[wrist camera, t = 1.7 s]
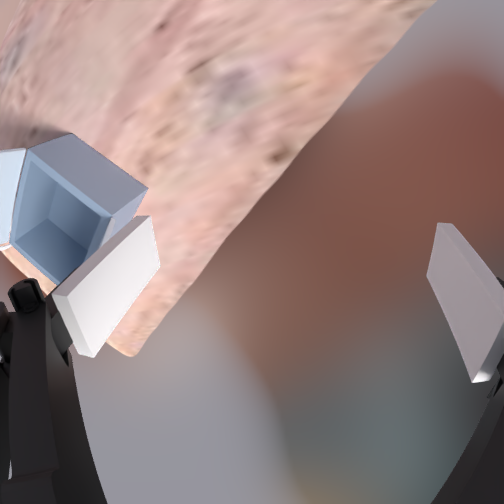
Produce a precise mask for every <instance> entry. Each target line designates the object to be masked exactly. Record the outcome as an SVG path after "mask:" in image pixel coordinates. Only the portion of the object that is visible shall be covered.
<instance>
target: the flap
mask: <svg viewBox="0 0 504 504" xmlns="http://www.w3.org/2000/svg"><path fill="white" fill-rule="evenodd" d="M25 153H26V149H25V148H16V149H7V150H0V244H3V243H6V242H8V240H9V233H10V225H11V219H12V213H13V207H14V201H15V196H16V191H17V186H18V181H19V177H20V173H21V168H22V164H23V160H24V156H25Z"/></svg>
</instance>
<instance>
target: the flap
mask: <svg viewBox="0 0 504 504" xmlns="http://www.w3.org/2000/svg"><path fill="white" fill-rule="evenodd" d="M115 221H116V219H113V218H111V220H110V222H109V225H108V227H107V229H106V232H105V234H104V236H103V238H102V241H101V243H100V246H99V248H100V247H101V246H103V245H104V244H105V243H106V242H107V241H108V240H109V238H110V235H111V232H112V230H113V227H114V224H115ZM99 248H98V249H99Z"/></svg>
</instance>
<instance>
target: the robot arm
mask: <svg viewBox="0 0 504 504" xmlns="http://www.w3.org/2000/svg"><path fill="white" fill-rule="evenodd" d="M159 268H160V261H159V256H158V251H157V247H156V242H155V236H154V231H153V226H152V221H151V216H136V217H135V218H134V219H132V220H131V221H130V222H129V223H128V224H127V225H125V226H124V227H123V228H122V229H121V230H120V231H118V232H117V233H116V234H115V235H114V236H113V237H112V238H110V239H109V240H108V241H107V242H106V243H105V244H104V245H103V246H101V247H100V248H99V249H98V250H97V251H96V252H95V253H94V254H93V255H91V256H90V257H89V258H88V259H87V260H86V261H85V262H84V263H83V264H82V265H81V266H79V267H77V268H75V269H74V270H73V271H72V272H71V273H70V274H69V275H68V277H66V278H65V279H64V280H63V281H62V282H61V283H60V284H59V285H58V286H57V287H56V288H55V289H54V290H53V291H51V292H50V293H49V294H48V295H47V296H46V298H44V296H43V294H42V291H41V288H40V286H39V283H38V281H37V280H36V279H34V278H28V279H24V280H22V281H20V282H18V283H16V284H15V285H13V287H11V288H10V289H9V291H8V296H9V298H10V300H11V302H12V305H13V307H14V309H15V311H16V312H8V310H7V308H6V306H5V304H4V303H3V302H0V355H1V357H2V359H1V362H0V504H107V501H106V498H105V495H104V492H103V489H102V487H101V483H100V480H99V477H98V474H97V471H96V468H95V464H94V461H93V457H92V454H91V450H90V447H89V442H88V439H87V435H86V430H85V426H84V422H83V417H82V413H81V408H80V404H79V398H78V393H77V387H76V382H75V376H74V369H73V364H72V363H73V362H72V356H71V353H70V351H69V349H68V348H69V347H70V345H71V344H72V343H73V344H74V345H75V348H76V350H77V351H78V353H79V354H81V355H85V356H89V357H93V358H94V357H95V356H96V354H97V353H98V351H99V350H100V348H101V347H102V345H103V344H104V343H105V341H106V340H107V338H108V337H109V335H110V334H111V333H112V331H113V330H114V328H115V327H116V326H117V324H118V323H119V321H120V320H121V319H122V317H123V316H124V314H125V313H126V312H127V310H128V309H129V308H130V306H131V305H132V304H133V302H134V301H135V299H136V298H137V297H138V295H139V294H140V293H141V291H142V290H143V289H144V287H145V286H146V285H147V283H148V282H149V281H150V279H151V278H152V277H153V275H154V274H155V273H156V271H157V270H158V269H159ZM427 278H428V280H429V282H430V284H431V286H432V288H433V291H434V292H435V295H436V297H437V299H438V301H439V303H440V305H441V308H442V310H443V312H444V314H445V316H446V319H447V321H448V323H449V325H450V328H451V330H452V332H453V335H454V337H455V340H456V342H457V344H458V347H459V349H460V352H461V354H462V357H463V360H464V362H465V365H466V367H467V370H468V373H469V376H470V378H471V381H472V383H473V382H482V381H488V380H490V378H491V377H492V375H493V373H494V372H495V370H496V368H497V369H498V371H499V374H500V378H499V379H498V381H497V382H496V384H495V386H494V387H493V389H492V390H491V392H490V393H489V395H488V396H487V398H490V399H489V401H488V403H487V406H486V408H485V410H484V412H483V415H482V417H481V419H480V421H479V423H478V425H477V427H476V429H475V431H474V433H473V435H472V437H471V439H470V441H469V443H468V444H467V446H466V448H465V450H464V452H463V454H462V455H461V457H460V459H459V460H458V462H457V464H456V466H455V467H454V469H453V471H452V472H451V474H450V476H449V477H448V479H447V480H446V482H445V483H444V485H443V486H442V488H441V489H440V491H439V492H438V494H437V496H436V497H435V498H434V500H433V501H432V503H431V504H504V281H502V280H501V279H500V278H498V277H495V276H494V275H493V273H492V272H491V271H490V269H489V268H488V267H487V265H486V264H485V263H484V262H483V260H482V259H481V258H480V256H479V255H478V254H477V253H476V251H475V250H474V249H473V248H472V247H471V246H470V244H469V243H468V242H467V241H466V239H465V238H464V237H463V236H462V235H461V233H460V232H459V231H458V230H457V229H456V228H455V227H454V225H453V224H449V223H437V229H436V234H435V239H434V245H433V249H432V255H431V258H430V263H429V267H428V272H427ZM10 460H11V466H12V478H11V479H9V480H8V477H9V468H10Z"/></svg>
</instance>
